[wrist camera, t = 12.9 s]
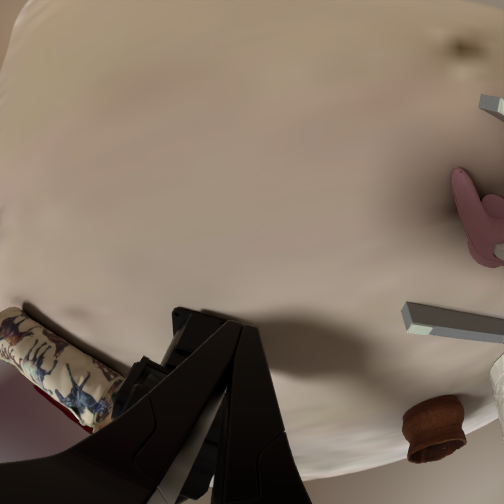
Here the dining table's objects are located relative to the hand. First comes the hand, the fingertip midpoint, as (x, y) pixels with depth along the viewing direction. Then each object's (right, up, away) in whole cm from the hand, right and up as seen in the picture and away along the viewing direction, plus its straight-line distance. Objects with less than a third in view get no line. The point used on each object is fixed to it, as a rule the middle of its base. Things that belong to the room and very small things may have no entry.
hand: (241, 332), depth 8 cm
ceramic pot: (+24, -18, +22) cm, 37 cm away
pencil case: (-27, -11, +28) cm, 41 cm away
